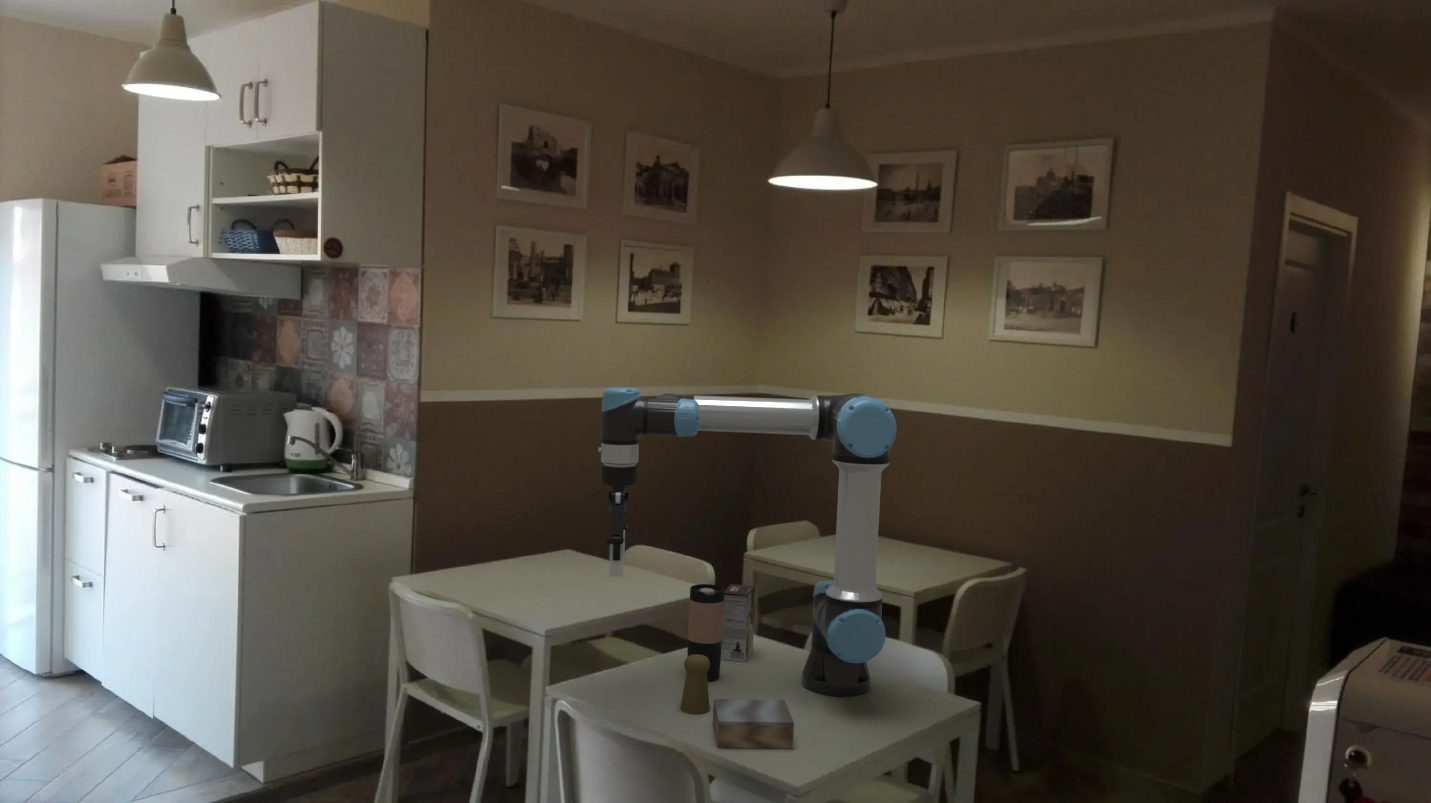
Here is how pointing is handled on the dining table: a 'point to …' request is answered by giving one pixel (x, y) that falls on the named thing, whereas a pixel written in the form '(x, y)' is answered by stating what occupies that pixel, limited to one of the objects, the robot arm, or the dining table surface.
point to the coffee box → (738, 622)
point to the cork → (696, 685)
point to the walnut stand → (752, 723)
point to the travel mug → (706, 625)
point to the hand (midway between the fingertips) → (617, 568)
